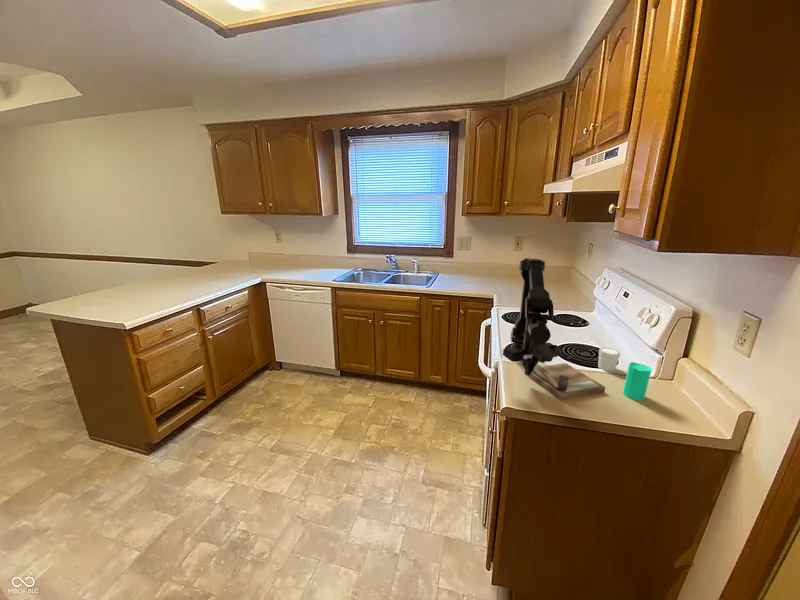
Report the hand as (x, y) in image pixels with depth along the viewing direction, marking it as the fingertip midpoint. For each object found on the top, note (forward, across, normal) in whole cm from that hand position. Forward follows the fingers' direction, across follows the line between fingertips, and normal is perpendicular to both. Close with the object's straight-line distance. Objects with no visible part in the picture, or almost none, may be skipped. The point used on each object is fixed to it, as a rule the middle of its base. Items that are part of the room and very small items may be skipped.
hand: (528, 374), depth 119 cm
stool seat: (+4, +13, -2) cm, 14 cm away
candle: (+4, +30, -16) cm, 34 cm away
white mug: (+4, +38, +2) cm, 38 cm away
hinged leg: (+1, +6, -3) cm, 7 cm away
